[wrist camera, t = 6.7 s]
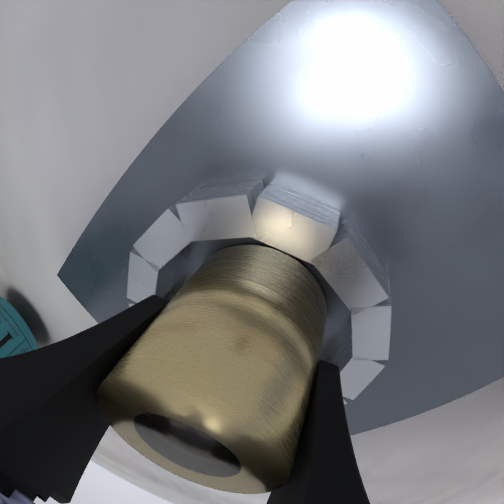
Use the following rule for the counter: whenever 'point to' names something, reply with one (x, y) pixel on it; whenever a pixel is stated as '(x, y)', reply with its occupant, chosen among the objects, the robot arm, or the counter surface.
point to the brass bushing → (224, 372)
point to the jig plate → (334, 196)
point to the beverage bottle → (14, 332)
